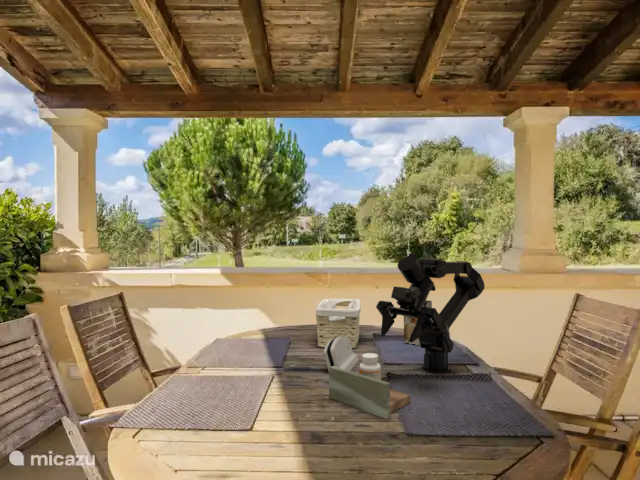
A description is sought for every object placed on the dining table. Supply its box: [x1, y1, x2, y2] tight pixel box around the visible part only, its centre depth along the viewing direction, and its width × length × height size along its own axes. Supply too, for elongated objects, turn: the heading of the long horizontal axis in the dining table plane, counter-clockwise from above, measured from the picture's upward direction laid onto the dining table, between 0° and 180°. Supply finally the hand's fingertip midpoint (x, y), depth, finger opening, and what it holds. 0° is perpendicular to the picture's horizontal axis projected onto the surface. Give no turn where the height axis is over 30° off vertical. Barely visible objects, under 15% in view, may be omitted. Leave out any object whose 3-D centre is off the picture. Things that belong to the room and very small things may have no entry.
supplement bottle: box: [358, 352, 382, 380], centre depth 111 cm, size 5×5×10 cm
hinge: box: [323, 337, 360, 372], centre depth 139 cm, size 17×5×10 cm, turn 160°
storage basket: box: [315, 298, 362, 349], centre depth 169 cm, size 24×16×15 cm
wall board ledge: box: [328, 366, 411, 420], centre depth 112 cm, size 12×18×8 cm, turn 46°
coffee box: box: [403, 299, 433, 346], centre depth 164 cm, size 9×6×16 cm
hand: (395, 338), depth 120 cm, fingers open, 9 cm apart
